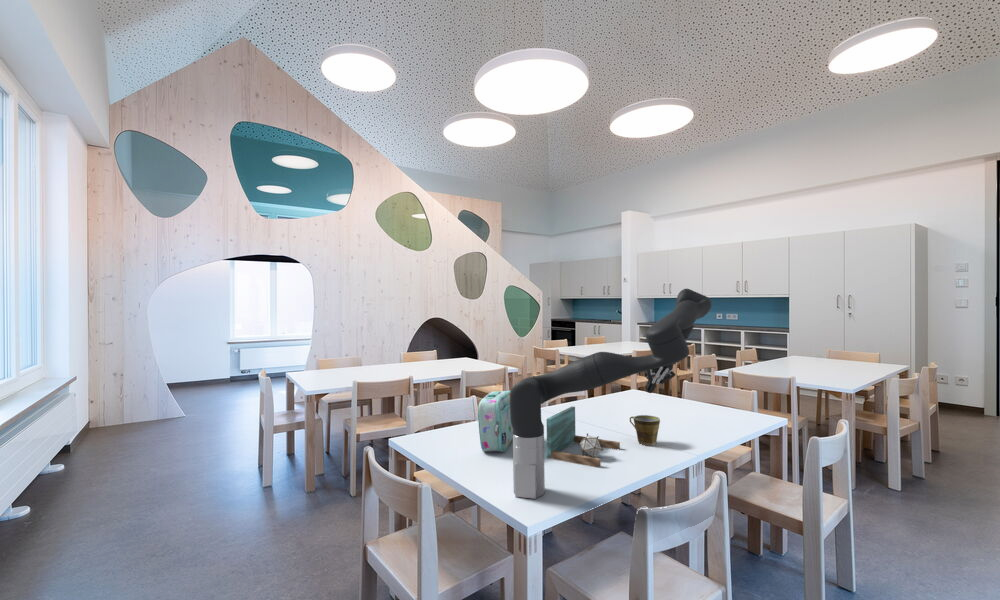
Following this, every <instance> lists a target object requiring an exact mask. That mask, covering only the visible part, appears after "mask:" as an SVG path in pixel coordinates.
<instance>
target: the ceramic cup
mask: <svg viewBox="0 0 1000 600" xmlns="http://www.w3.org/2000/svg"><path fill="white" fill-rule="evenodd" d="M632 419H633V422H632ZM629 422H630V424H631V425H632V426H633V428H634V429H635V432H636V436H637V442H639V443H638V444H639V445H640V444H642V445H641V446H644V445H645V446H644V447H653V445H654V446H656V445H657V440H658V435H659V434H658V433H659V430H660V429H659V428H660V423H661V419H660V417H657V416H654V415H650V414H649V415H647V414H644V415H642V414H641V415H635V416H630V417H629Z"/></svg>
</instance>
